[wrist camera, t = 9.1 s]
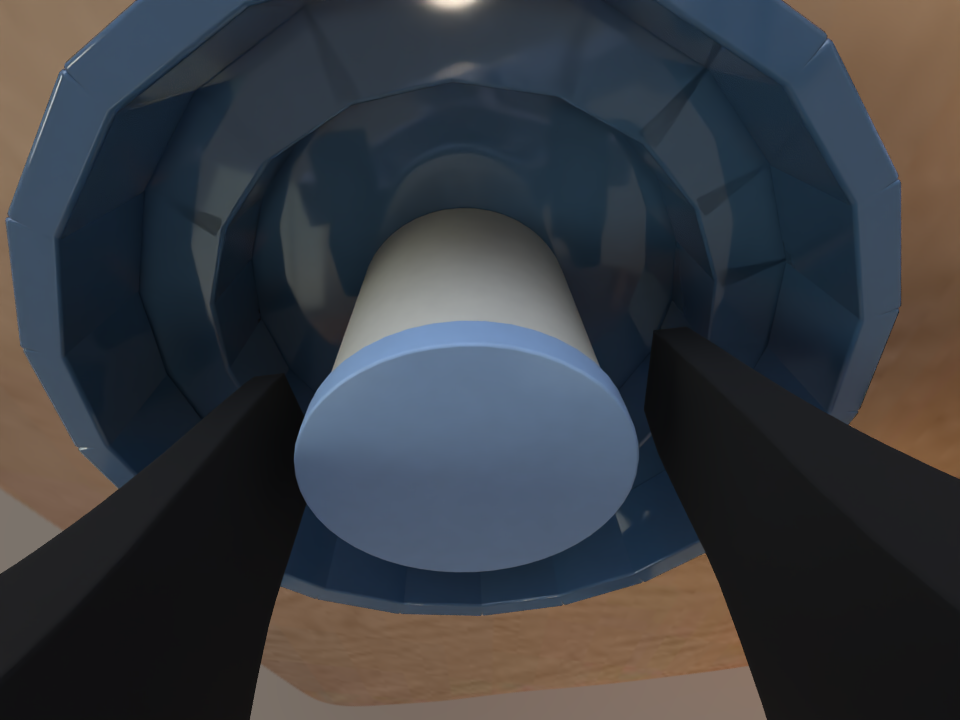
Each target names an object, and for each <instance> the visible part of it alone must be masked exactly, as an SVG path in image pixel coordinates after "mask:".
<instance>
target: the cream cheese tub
mask: <svg viewBox="0 0 960 720" xmlns="http://www.w3.org/2000/svg"><path fill="white" fill-rule="evenodd" d="M638 462H639V444H638V439H637V435H636V431H635V427H634V424H633V422H632V420H631V417H630V415H629V413H628V410H627V408H626V405H625V403H624V401H623V399H622V397H621V395H620V393H619V390H618V389H617V387H616V386H615V385H614V383H613V382H612V380H611V379H610V378H609V376H608V375H607V374H606V373H605V372H604V371H603V370H602V369H601V368H600V366H599V363H598V361H597V358H596V356H595V353H594V350H593V348H592V345H591V343H590V340H589V338H588V335H587V333H586V330H585V328H584V325H583V322H582V320H581V317H580V315H579V312H578V310H577V307H576V305H575V302H574V300H573V297H572V294H571V292H570V289H569V287H568V284H567V282H566V279H565V277H564V274H563V272H562V269H561V267H560V265H559V263H558V261H557V258H556V257H555V255H554V254H553V252H552V251H551V249H550V248H549V246H548V245H547V244H546V243H545V242H544V241H543V240H542V239H541V238H540V237H539V236H538V235H537V234H536V233H535V232H533V231H532V230H531V229H530V228H528V227H527V226H525V225H523V224H522V223H520V222H518V221H517V220H514V219H512V218H510V217H508V216H505V215H503V214H499V213H496V212H492V211H488V210H482V209H475V208H456V209H446V210H441V211H437V212H433V213H429V214H427V215H424V216H422V217H419V218H416V219H414V220H413V221H411V222H409V223H407V224H406V225H404V226H402V227H401V228H400V229H398V230H397V231H396V232H394V233H393V234H392V235H391V236H390V237H389V238H388V239H387V240H386V241H385V242H384V243H383V244H382V245H381V247H380V248H379V249H378V251H377V252H376V253H375V255H374V257H373V259H372V261H371V262H370V264H369V266H368V269H367V272H366V275H365V278H364V281H363V283H362V286H361V289H360V292H359V295H358V298H357V300H356V303H355V306H354V309H353V312H352V315H351V318H350V320H349V323H348V326H347V329H346V332H345V335H344V337H343V340H342V343H341V346H340V349H339V352H338V355H337V357H336V360H335V363H334V366H333V369H332V372H331V373H330V374H329V375H328V377H327V378H326V379H325V380H324V382H323V383H322V384H321V385H320V387H319V388H318V389H317V391H316V393H315V395H314V397H313V398H312V400H311V402H310V404H309V406H308V409H307V412H306V414H305V417H304V420H303V422H302V425H301V427H300V431H299V434H298V437H297V440H296V443H295V452H294V466H295V476H296V479H297V482H298V486H299V489H300V492H301V494H302V496H303V497H304V499H305V501H306V503H307V505H308V506H309V508H310V509H311V510H312V512H313V513H314V514H315V516H316V517H317V518H318V519H319V520H320V521H321V522H322V523H323V524H324V525H325V526H326V527H327V528H328V529H329V530H331V531H332V532H333V533H334V534H336V535H337V536H338V537H339V538H341V539H343V540H344V541H346V542H347V543H349V544H351V545H352V546H354V547H356V548H358V549H360V550H362V551H364V552H366V553H368V554H370V555H373V556H375V557H378V558H381V559H383V560H386V561H389V562H393V563H396V564H400V565H404V566H408V567H413V568H418V569H425V570H433V571H443V572H481V571H493V570H499V569H506V568H512V567H516V566H520V565H525V564H529V563H532V562H535V561H538V560H541V559H545V558H547V557H550V556H552V555H555V554H557V553H560V552H562V551H564V550H566V549H568V548H570V547H572V546H574V545H576V544H578V543H579V542H581V541H582V540H584V539H585V538H587V537H589V536H590V535H592V534H593V533H594V532H595V531H597V530H598V529H599V528H600V527H602V526H603V525H604V524H605V523H606V522H607V521H608V520H609V519H610V518H611V517H612V516H613V515H614V514H615V513H616V512H617V510H618V509H619V508H620V506H621V505H622V504H623V502H624V501H625V499H626V497H627V496H628V494H629V492H630V490H631V488H632V486H633V483H634V480H635V477H636V474H637V468H638Z"/></svg>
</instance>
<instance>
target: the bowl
mask: <svg viewBox="0 0 960 720" xmlns="http://www.w3.org/2000/svg"><path fill="white" fill-rule="evenodd" d="M64 68H65V69H62V70H61V71H60V72H59V74H58V77H57V80H56V83H55V85H54V88H53V91H52V93H51V96H50V99H49V102H48V104H47V107H46V110H45V113H44V115H43V118H42V121H41V123H40V126H39V129H38V132H37V134H36V137H35V140H34V142H33V145H32V148H31V151H30V153H29V156H28V159H27V162H26V164H25V167H24V170H23V172H22V175H21V178H20V181H19V183H18V186H17V189H16V192H15V194H14V197H13V200H12V202H11V205H10V208H9V211H8V216H9V217H7V218H6V229H7V238H8V246H9V254H10V263H11V271H12V279H13V288H14V296H15V304H16V313H17V321H18V330H19V338H20V346H21V347H22V348H24V353H25V355H26V357H27V359H28V361H29V362H30V364H31V366H32V368H33V370H34V372H35V373H36V375H37V377H38V379H39V381H40V382H41V384H42V386H43V388H44V390H45V391H46V393H47V395H48V397H49V399H50V401H51V402H52V404H53V406H54V408H55V410H56V411H57V413H58V415H59V417H60V419H61V421H62V422H63V424H64V426H65V428H66V430H67V431H68V433H69V435H70V437H71V439H72V441H73V442H74V444H75V446H77V447H79V451H80V452H81V453H82V454H83V455H84V456H85V457H86V458H87V459H88V460H89V461H90V462H91V463H92V464H93V465H94V466H95V467H96V468H97V469H98V470H99V471H100V472H102V473H103V474H104V475H105V476H106V477H107V478H108V479H109V480H110V481H111V482H112V483H113V484H114V485H115V486H116V487H117V488H118V489H119V488H121V487H122V486H123V485H124V484H126V483H127V482H128V481H129V480H131V479H132V478H133V477H134V476H135V475H137V474H138V473H139V472H140V471H142V470H143V469H144V468H145V467H147V466H148V465H149V464H150V463H152V462H153V461H154V460H155V459H157V458H158V457H159V456H160V455H161V454H163V453H164V452H165V451H166V450H167V449H168V448H170V447H171V446H172V445H173V444H174V443H175V442H177V441H178V440H179V439H180V438H181V437H182V436H184V435H185V434H186V433H187V432H188V431H189V430H190V429H192V428H193V427H194V426H195V425H196V424H197V423H199V422H200V421H201V420H202V419H203V418H204V417H206V416H207V415H208V414H209V413H210V412H211V411H212V410H214V409H215V408H216V407H217V406H218V405H219V404H221V403H222V402H223V401H224V400H225V399H226V398H228V397H229V396H230V395H231V394H232V393H234V392H235V391H236V390H237V389H238V388H240V387H241V386H242V385H243V384H245V383H246V382H247V381H249V380H250V379H251V378H253V377H254V376H263V375H271V374H280V373H284V374H285V376H286V378H287V380H288V382H289V385H290V387H291V389H292V391H293V393H294V395H295V397H296V399H297V401H298V404H299V406H300V408H301V410H302V412H303V414H304V416H305V414H306V412H307V409H308V406H309V404H310V402H311V400H312V398H313V397H314V395H315V393H316V391H317V389H318V388H319V387H320V385H321V384H322V383H323V382H324V380H325V379H326V378H327V377H328V375H329V374H330V373H331V372H332V369H333V366H334V363H335V360H336V357H337V355H338V352H339V349H340V346H341V343H342V340H343V337H344V335H345V332H346V329H347V326H348V323H349V320H350V318H351V315H352V312H353V309H354V306H355V303H356V300H357V298H358V295H359V292H360V289H361V286H362V283H363V281H364V278H365V275H366V272H367V269H368V266H369V264H370V262H371V261H372V259H373V257H374V255H375V253H376V252H377V251H378V249H379V248H380V247H381V245H382V244H383V243H384V242H385V241H386V240H387V239H388V238H389V237H390V236H391V235H392V234H393V233H394V232H396V231H397V230H398V229H400V228H401V227H402V226H404V225H406V224H407V223H409V222H411V221H413V220H414V219H416V218H419V217H422V216H424V215H427V214H429V213H433V212H437V211H441V210H446V209H456V208H475V209H482V210H488V211H492V212H496V213H499V214H503V215H505V216H508V217H510V218H512V219H514V220H517V221H518V222H520V223H522V224H523V225H525V226H527V227H528V228H530V229H531V230H532V231H533V232H535V233H536V234H537V235H538V236H539V237H540V238H541V239H542V240H543V241H544V242H545V243H546V244H547V245H548V246H549V248H550V249H551V251H552V252H553V254H554V255H555V257H556V258H557V261H558V263H559V265H560V267H561V269H562V272H563V274H564V277H565V279H566V282H567V284H568V287H569V289H570V292H571V294H572V297H573V300H574V302H575V305H576V307H577V310H578V312H579V315H580V317H581V320H582V322H583V325H584V328H585V330H586V333H587V335H588V338H589V340H590V343H591V345H592V348H593V350H594V353H595V356H596V358H597V361H598V363H599V366H600V368H601V369H602V370H603V371H604V372H605V373H606V374H607V375H608V376H609V378H610V379H611V380H612V382H613V383H614V385H615V386H616V387H617V389H618V390H619V393H620V395H621V397H622V399H623V401H624V403H625V405H626V408H627V410H628V413H629V415H630V417H631V420H632V422H633V424H634V427H635V431H636V435H637V439H638V444H639V462H638V468H637V474H636V477H635V480H634V483H633V486H632V488H631V490H630V492H629V494H628V496H627V497H626V499H625V501H624V502H623V504H622V505H621V506H620V508H619V509H618V510H617V512H616V513H615V514H614V515H613V516H612V517H611V518H610V519H609V520H608V521H607V522H606V523H605V524H604V525H603V526H602V527H600V528H599V529H598V530H597V531H595V532H594V533H593V534H592V535H590V536H589V537H587V538H585V539H584V540H582V541H581V542H579V543H578V544H576V545H574V546H572V547H570V548H568V549H566V550H564V551H562V552H560V553H557V554H555V555H552V556H550V557H547V558H545V559H541V560H538V561H535V562H532V563H529V564H525V565H520V566H516V567H512V568H506V569H499V570H493V571H481V572H443V571H433V570H425V569H418V568H413V567H408V566H404V565H400V564H396V563H393V562H389V561H386V560H383V559H381V558H378V557H375V556H373V555H370V554H368V553H366V552H364V551H362V550H360V549H358V548H356V547H354V546H352V545H351V544H349V543H347V542H346V541H344V540H343V539H341V538H339V537H338V536H337V535H336V534H334V533H333V532H332V531H331V530H329V529H328V528H327V527H326V526H325V525H324V524H323V523H322V522H321V521H320V520H319V519H318V518H317V517H316V516H315V514H314V513H313V512H312V510H311V509H310V508H309V506H308V505H307V503H306V506H305V510H304V513H303V516H302V519H301V523H300V526H299V529H298V532H297V535H296V538H295V541H294V545H293V548H292V551H291V554H290V557H289V560H288V563H287V566H286V570H285V573H284V576H283V579H282V582H281V585H280V586H281V587H284V588H286V589H289V590H292V591H295V592H297V593H300V594H303V595H306V596H309V597H311V598H314V599H316V598H317V599H318V600H324V601H329V602H335V603H341V604H346V605H352V606H357V607H363V608H368V609H374V610H379V611H385V612H391V613H396V614H399V613H401V614H425V615H467V616H481V615H493V614H500V613H508V612H516V611H524V610H532V609H540V608H547V607H555V606H562V605H563V604H564V605H567V604H570V603H574V602H577V601H581V600H584V599H588V598H591V597H594V596H598V595H601V594H605V593H608V592H612V591H615V590H619V589H622V588H625V587H629V586H632V585H636V584H639V583H642V582H646V581H648V580H650V579H652V578H654V577H656V576H658V575H661V574H663V573H665V572H667V571H669V570H671V569H673V568H675V567H677V566H679V565H681V564H683V563H685V562H687V561H689V560H691V559H694V558H696V557H698V556H700V555H702V554H704V553H705V551H704V549H703V547H702V545H701V542H700V540H699V538H698V536H697V534H696V532H695V530H694V528H693V526H692V524H691V522H690V520H689V518H688V516H687V514H686V511H685V509H684V507H683V505H682V503H681V501H680V499H679V497H678V495H677V493H676V491H675V489H674V487H673V484H672V482H671V480H670V478H669V476H668V474H667V472H666V470H665V468H664V466H663V463H662V461H661V459H660V457H659V455H658V452H657V449H656V446H655V443H654V440H653V437H652V434H651V431H650V428H649V425H648V422H647V418H646V415H645V412H644V403H645V395H646V387H647V379H648V371H649V362H650V354H651V346H652V338H653V330H660V329H669V328H678V327H688V328H690V329H691V330H693V331H695V332H696V333H698V334H700V335H701V336H703V337H704V338H706V339H708V340H709V341H711V342H712V343H714V344H715V345H717V346H718V347H720V348H721V349H723V350H725V351H726V352H728V353H729V354H731V355H732V356H734V357H735V358H737V359H738V360H740V361H741V362H743V363H745V364H746V365H748V366H749V367H751V368H752V369H754V370H756V371H757V372H759V373H760V374H762V375H763V376H765V377H767V378H768V379H770V380H771V381H773V382H775V383H776V384H778V385H780V386H781V387H783V388H784V389H786V390H788V391H789V392H791V393H793V394H794V395H796V396H798V397H800V398H801V399H803V400H805V401H806V402H808V403H810V404H811V405H813V406H815V407H817V408H819V409H820V410H822V411H824V412H826V413H827V414H829V415H831V416H833V417H835V418H836V419H838V420H840V421H842V422H844V423H845V424H847V425H849V424H850V422H851V421H852V420H853V419H854V417H855V416H856V415H857V414H858V410H859V409H860V408H861V405H862V403H863V400H864V398H865V395H866V393H867V390H868V388H869V385H870V383H871V380H872V378H873V375H874V373H875V370H876V368H877V365H878V363H879V360H880V358H881V355H882V353H883V350H884V348H885V345H886V343H887V341H888V338H889V336H890V333H891V331H892V328H893V326H894V323H895V321H896V318H897V316H898V313H899V309H898V308H899V307H900V306H901V182H900V180H899V179H898V173H897V171H896V169H895V167H894V165H893V163H892V161H891V159H890V157H889V155H888V153H887V151H886V149H885V147H884V145H883V143H882V141H881V139H880V137H879V135H878V133H877V131H876V129H875V127H874V125H873V123H872V121H871V119H870V117H869V114H868V112H867V110H866V108H865V106H864V104H863V102H862V100H861V98H860V96H859V94H858V92H857V90H856V88H855V86H854V84H853V82H852V80H851V78H850V76H849V74H848V72H847V70H846V68H845V66H844V64H843V62H842V60H841V58H840V56H839V54H838V52H837V50H836V48H835V46H834V44H833V42H832V40H830V39H828V38H827V35H826V33H825V31H823V30H822V29H821V28H819V27H818V26H817V25H815V24H814V23H813V22H811V21H810V20H808V19H807V18H806V17H804V16H803V15H802V14H800V13H799V12H798V11H796V10H795V9H794V8H792V7H791V6H790V5H788V4H787V3H786V2H784V1H783V0H135V1H134V2H133V3H132V4H131V5H130V6H129V7H127V8H126V9H125V10H124V11H123V12H122V13H121V14H120V15H118V16H117V17H116V18H115V19H114V20H113V21H112V22H111V23H109V24H108V25H107V26H106V27H105V28H104V29H103V30H102V31H100V32H99V33H98V34H97V35H96V36H95V37H94V38H92V39H91V40H90V41H89V42H88V43H87V44H86V45H85V46H83V47H82V48H81V49H80V50H79V51H78V52H77V53H76V54H74V55H73V56H72V57H71V58H70V59H69V60H68V61H66V63H65V66H64Z"/></svg>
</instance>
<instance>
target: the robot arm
mask: <svg viewBox="0 0 960 720" xmlns="http://www.w3.org/2000/svg"><path fill="white" fill-rule="evenodd" d="M644 412H645V415H646V418H647V422H648V425H649V428H650V431H651V434H652V437H653V440H654V443H655V446H656V449H657V452H658V455H659V457H660V459H661V461H662V463H663V466H664V468H665V470H666V472H667V474H668V476H669V478H670V480H671V482H672V484H673V487H674V489H675V491H676V493H677V495H678V497H679V499H680V501H681V503H682V505H683V507H684V509H685V511H686V514H687V516H688V518H689V520H690V522H691V524H692V526H693V528H694V530H695V532H696V534H697V536H698V538H699V540H700V542H701V545H702V547H703V549H704V551H705V553H706V555H707V557H708V559H709V561H710V564H711V566H712V568H713V571H714V573H715V575H716V577H717V580H718V582H719V584H720V587H721V590H722V592H723V595H724V598H725V601H726V603H727V606H728V609H729V611H730V614H731V617H732V620H733V622H734V625H735V628H736V631H737V633H738V636H739V639H740V641H741V644H742V647H743V650H744V653H745V656H746V659H747V662H748V665H749V667H750V670H751V673H752V676H753V679H754V682H755V684H756V687H757V690H758V693H759V696H760V699H761V702H762V705H763V708H764V711H765V715H766V718H767V720H960V479H958V478H956V477H953V476H951V475H949V474H947V473H944V472H942V471H940V470H938V469H936V468H933V467H931V466H929V465H927V464H925V463H923V462H921V461H919V460H917V459H915V458H913V457H911V456H909V455H907V454H904V453H902V452H900V451H898V450H896V449H894V448H892V447H890V446H888V445H886V444H884V443H882V442H880V441H878V440H876V439H874V438H872V437H870V436H868V435H866V434H864V433H862V432H860V431H858V430H856V429H855V428H853V427H851V426H849V425H847V424H845V423H844V422H842V421H840V420H838V419H836V418H835V417H833V416H831V415H829V414H827V413H826V412H824V411H822V410H820V409H819V408H817V407H815V406H813V405H811V404H810V403H808V402H806V401H805V400H803V399H801V398H800V397H798V396H796V395H794V394H793V393H791V392H789V391H788V390H786V389H784V388H783V387H781V386H780V385H778V384H776V383H775V382H773V381H771V380H770V379H768V378H767V377H765V376H763V375H762V374H760V373H759V372H757V371H756V370H754V369H752V368H751V367H749V366H748V365H746V364H745V363H743V362H741V361H740V360H738V359H737V358H735V357H734V356H732V355H731V354H729V353H728V352H726V351H725V350H723V349H721V348H720V347H718V346H717V345H715V344H714V343H712V342H711V341H709V340H708V339H706V338H704V337H703V336H701V335H700V334H698V333H696V332H695V331H693V330H691V329H690V328H688V327H678V328H669V329H660V330H653V338H652V346H651V354H650V362H649V371H648V379H647V387H646V395H645V403H644ZM304 417H305V416H304V414H303V412H302V410H301V408H300V406H299V404H298V401H297V399H296V397H295V395H294V393H293V391H292V389H291V387H290V385H289V382H288V380H287V378H286V376H285V374H284V373H280V374H271V375H263V376H254V377H253V378H251V379H250V380H249V381H247V382H246V383H245V384H243V385H242V386H241V387H240V388H238V389H237V390H236V391H235V392H234V393H232V394H231V395H230V396H229V397H228V398H226V399H225V400H224V401H223V402H222V403H221V404H219V405H218V406H217V407H216V408H215V409H214V410H212V411H211V412H210V413H209V414H208V415H207V416H206V417H204V418H203V419H202V420H201V421H200V422H199V423H197V424H196V425H195V426H194V427H193V428H192V429H190V430H189V431H188V432H187V433H186V434H185V435H184V436H182V437H181V438H180V439H179V440H178V441H177V442H175V443H174V444H173V445H172V446H171V447H170V448H168V449H167V450H166V451H165V452H164V453H163V454H161V455H160V456H159V457H158V458H157V459H155V460H154V461H153V462H152V463H150V464H149V465H148V466H147V467H145V468H144V469H143V470H142V471H140V472H139V473H138V474H137V475H135V476H134V477H133V478H132V479H131V480H129V481H128V482H127V483H126V484H124V485H123V486H122V487H121V488H119V489H118V490H117V491H116V492H114V493H113V494H112V495H111V496H109V497H108V498H107V499H106V500H104V501H103V502H102V503H101V504H99V505H98V506H97V507H95V508H94V509H93V510H91V511H90V512H89V513H87V514H86V515H85V516H83V517H82V518H81V519H79V520H78V521H76V522H75V523H74V524H72V525H71V526H70V527H68V528H67V529H65V530H64V531H63V532H61V533H60V534H58V535H57V536H56V537H54V538H53V539H52V540H50V541H48V542H47V543H46V544H44V545H43V546H41V547H40V548H38V549H37V550H36V551H34V552H33V553H31V554H30V555H28V556H27V557H26V558H24V559H22V560H21V561H20V562H18V563H17V564H15V565H14V566H12V567H10V568H9V569H7V570H6V571H4V572H3V573H1V574H0V720H250V715H251V710H252V705H253V699H254V693H255V688H256V683H257V678H258V673H259V668H260V664H261V659H262V655H263V650H264V645H265V641H266V636H267V631H268V627H269V623H270V619H271V616H272V612H273V608H274V605H275V601H276V598H277V595H278V591H279V588H280V585H281V582H282V579H283V576H284V573H285V570H286V566H287V563H288V560H289V557H290V554H291V551H292V548H293V545H294V541H295V538H296V535H297V532H298V529H299V526H300V523H301V519H302V516H303V513H304V510H305V506H306V501H305V499H304V497H303V496H302V494H301V492H300V489H299V486H298V482H297V479H296V476H295V466H294V452H295V443H296V440H297V437H298V434H299V431H300V427H301V425H302V422H303V420H304Z"/></svg>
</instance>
